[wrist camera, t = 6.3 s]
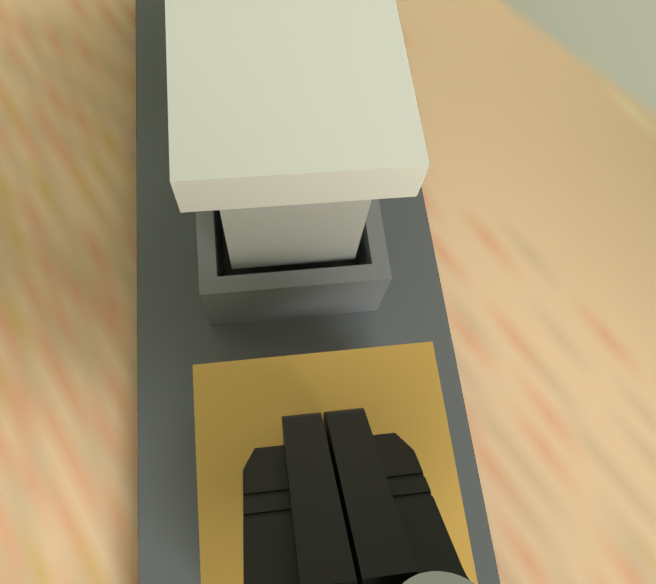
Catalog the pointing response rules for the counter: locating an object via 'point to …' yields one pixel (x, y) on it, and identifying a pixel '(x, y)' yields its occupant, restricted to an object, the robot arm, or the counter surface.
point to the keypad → (260, 324)
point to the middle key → (290, 121)
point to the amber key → (321, 396)
